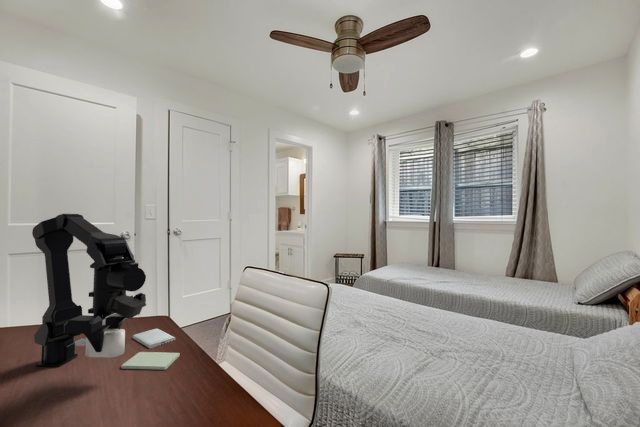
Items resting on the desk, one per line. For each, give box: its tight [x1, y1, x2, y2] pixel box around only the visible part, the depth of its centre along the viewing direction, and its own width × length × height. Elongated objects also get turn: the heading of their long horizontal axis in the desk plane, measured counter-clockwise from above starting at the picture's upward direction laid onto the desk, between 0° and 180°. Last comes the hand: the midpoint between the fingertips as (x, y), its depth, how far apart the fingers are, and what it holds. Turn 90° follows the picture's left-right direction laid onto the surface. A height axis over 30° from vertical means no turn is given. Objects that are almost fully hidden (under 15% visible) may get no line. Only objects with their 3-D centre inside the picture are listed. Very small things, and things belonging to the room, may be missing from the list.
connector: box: [74, 328, 126, 359], centre depth 74 cm, size 11×4×6 cm, turn 90°
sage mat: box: [121, 351, 181, 371], centre depth 83 cm, size 12×8×1 cm, turn 90°
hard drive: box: [132, 328, 176, 349], centre depth 98 cm, size 2×8×12 cm
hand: (105, 348), depth 74 cm, fingers closed on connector, 4 cm apart
